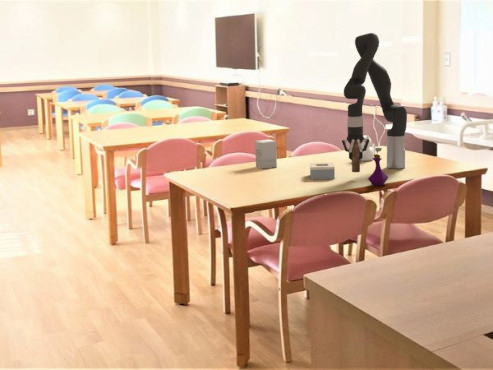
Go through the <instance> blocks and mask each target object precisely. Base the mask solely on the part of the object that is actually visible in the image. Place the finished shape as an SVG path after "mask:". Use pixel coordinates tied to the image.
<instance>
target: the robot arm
mask: <svg viewBox="0 0 493 370" xmlns="http://www.w3.org/2000/svg"><path fill="white" fill-rule="evenodd" d="M379 39H380V38H379V36H378V34H376V33H375V32H369V33H368V32H367V33H365V34H361V35H358V36H356V37H355V39H354V45H355V49H356V50H357V51H356V52H357V53H358V55H359V56H360V59H359V60H358V61H357V62H356V64H355V65H354V67H353V70H352V74H351V77H350V78H349V79H348V80H347V83H346V85H345V86H344V88H343V96H344V98H346V99H348V100H356V102H354V103H351V104H348V105H347V137H346V138H345V139H341V143H342V145H343V148H344V150H345V152H347V153H348V159H350V161H352V148H353V144H354V140H357V142H358V145H359V149H360V161H361V159H362V158H363V151H366V149H367V146H368V143H369V139H366V138H364V137H363V136H364V119H363V106H364V100H365V96H366V92H367V89H366V86H365V85H364V84H365V82H366V79H367V75H368V76H369V78H370V81H371V83H372V85H373V88H374V91H375V93H376V96H377V98H378V101H379V103H380V107H381V109H382V114H383V116H384V118H385V120H386V121H387V122H388V123H389V122H390V123H392V125H391V128H389V129H388V130H386V167H387V168H388V169H405V168H406V150H405V133H406V131H407V122H408V121H407V120H408V112H407V109H406V107H405V106H403V105H395V103H394V101H393V99H392V96H391V91H392V81H391V78H390V76H389V73H388V71H387V69H386V68H385V67H384V66H382V65H381V64H380V63H379V62H377V61H376V60H375V59H374V57H375V56H376V53H377V52H378V50H379V47H380V46H379V45H380V40H379ZM363 140H364V142H365V145H364V148H363V149H362V147H361V143H362V142H363ZM347 143H348V144H349V148H348V147H347Z"/></svg>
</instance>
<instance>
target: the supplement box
mask: <svg viewBox="0 0 493 370" xmlns="http://www.w3.org/2000/svg"><path fill="white" fill-rule="evenodd" d="M254 146H255V147H254V149H255V154H254V155H255V167H256V166H257V167H256V168H258V167H260V168H259V169H261V168H269V169H273V168H272V167H276V168H277V167H278V166H277V165H278V163H277V159H278V158H277V141H276V140H273V139H269V138H268V139H260V140H254Z"/></svg>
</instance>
